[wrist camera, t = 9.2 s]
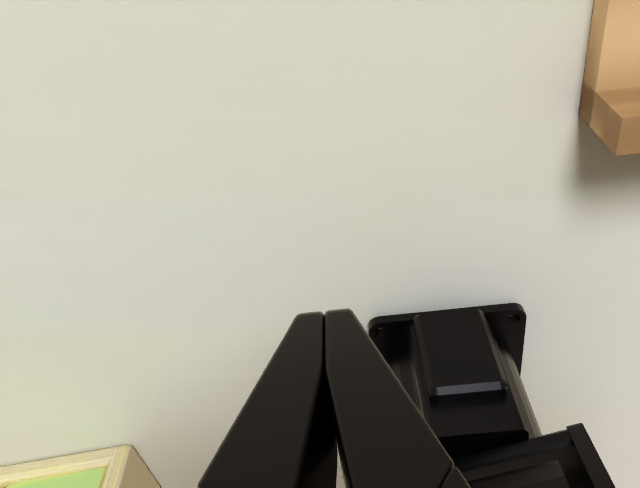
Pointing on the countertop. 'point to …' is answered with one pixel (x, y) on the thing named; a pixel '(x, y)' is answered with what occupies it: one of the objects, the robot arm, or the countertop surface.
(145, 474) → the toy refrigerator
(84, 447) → the countertop surface
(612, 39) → the bay
